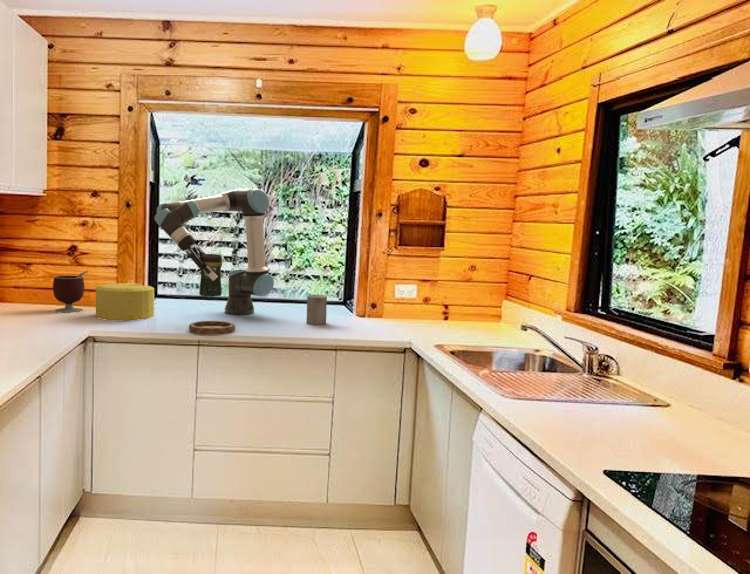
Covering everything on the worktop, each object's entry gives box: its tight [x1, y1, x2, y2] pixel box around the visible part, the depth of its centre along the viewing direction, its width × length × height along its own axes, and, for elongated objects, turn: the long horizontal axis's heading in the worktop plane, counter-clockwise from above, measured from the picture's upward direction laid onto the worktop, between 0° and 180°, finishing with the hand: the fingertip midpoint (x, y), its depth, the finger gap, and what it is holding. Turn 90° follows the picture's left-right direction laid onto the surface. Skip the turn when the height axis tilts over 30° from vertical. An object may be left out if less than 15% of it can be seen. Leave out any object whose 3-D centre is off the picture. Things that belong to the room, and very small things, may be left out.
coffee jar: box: [198, 253, 223, 298], centre depth 264 cm, size 10×8×19 cm
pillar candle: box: [306, 293, 328, 326], centre depth 294 cm, size 10×10×15 cm
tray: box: [188, 320, 236, 335], centre depth 265 cm, size 19×19×3 cm
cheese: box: [95, 282, 155, 321], centre depth 289 cm, size 26×26×15 cm
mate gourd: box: [52, 270, 88, 314], centre depth 297 cm, size 16×14×20 cm
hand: (218, 277), depth 264 cm, fingers closed on coffee jar, 8 cm apart
